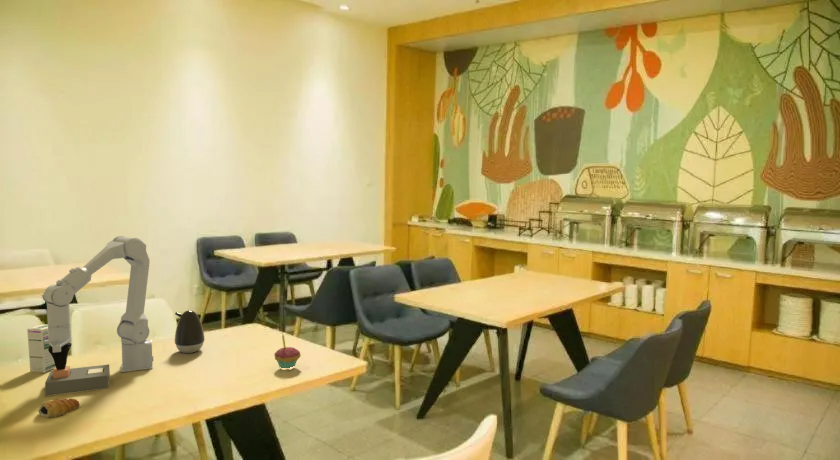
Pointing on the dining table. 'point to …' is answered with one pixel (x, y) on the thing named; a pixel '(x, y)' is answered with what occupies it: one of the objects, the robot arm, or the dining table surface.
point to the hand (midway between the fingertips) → (61, 368)
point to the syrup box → (39, 349)
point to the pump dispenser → (189, 332)
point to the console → (78, 381)
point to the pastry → (58, 407)
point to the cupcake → (287, 356)
